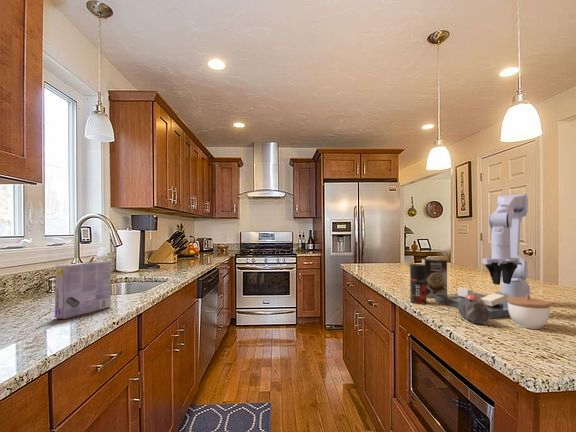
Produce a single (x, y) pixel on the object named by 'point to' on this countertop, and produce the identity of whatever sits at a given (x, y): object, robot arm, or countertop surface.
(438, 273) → the coffee box
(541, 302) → the lidded jar
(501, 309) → the panel
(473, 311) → the perforated stone tool
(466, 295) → the button
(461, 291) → the fader knob
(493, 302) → the beige rectangular block
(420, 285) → the deodorant
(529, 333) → the countertop surface
